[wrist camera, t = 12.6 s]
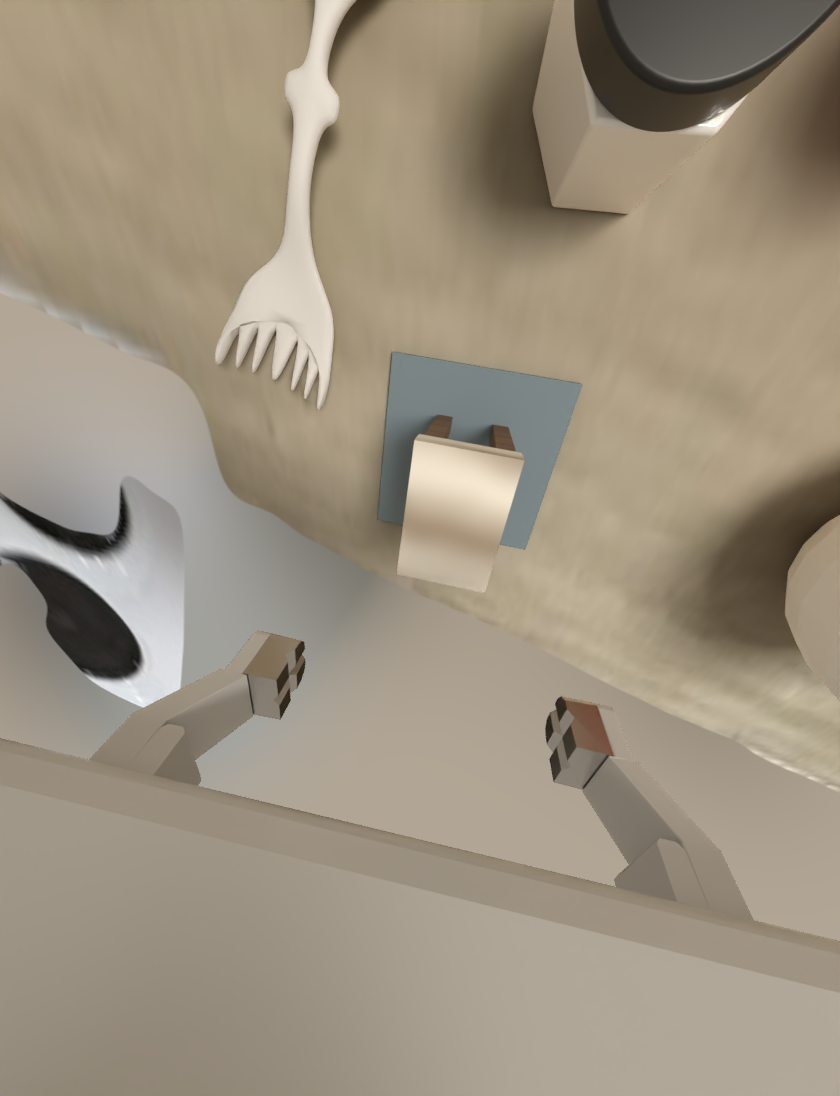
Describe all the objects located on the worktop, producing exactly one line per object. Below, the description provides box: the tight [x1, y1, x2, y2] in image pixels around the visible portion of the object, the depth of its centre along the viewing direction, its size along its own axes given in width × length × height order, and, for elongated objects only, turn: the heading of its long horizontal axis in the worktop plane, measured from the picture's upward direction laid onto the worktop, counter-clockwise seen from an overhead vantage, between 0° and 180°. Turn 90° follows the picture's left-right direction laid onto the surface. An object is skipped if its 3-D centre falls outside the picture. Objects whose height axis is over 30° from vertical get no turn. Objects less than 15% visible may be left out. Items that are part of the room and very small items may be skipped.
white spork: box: [215, 0, 356, 410], centre depth 20 cm, size 9×32×3 cm, turn 157°
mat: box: [377, 352, 582, 550], centre depth 29 cm, size 14×14×1 cm
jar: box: [532, 0, 840, 214], centre depth 14 cm, size 9×8×12 cm
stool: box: [396, 414, 525, 593], centre depth 26 cm, size 9×6×10 cm, turn 171°
